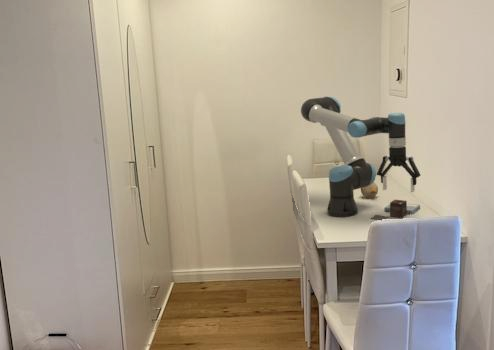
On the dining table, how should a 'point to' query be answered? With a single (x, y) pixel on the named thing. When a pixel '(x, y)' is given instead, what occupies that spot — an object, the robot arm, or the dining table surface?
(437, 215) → the dining table surface
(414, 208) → the ticket board
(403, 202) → the box
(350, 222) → the dining table surface
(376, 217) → the stub mat
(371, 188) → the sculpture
